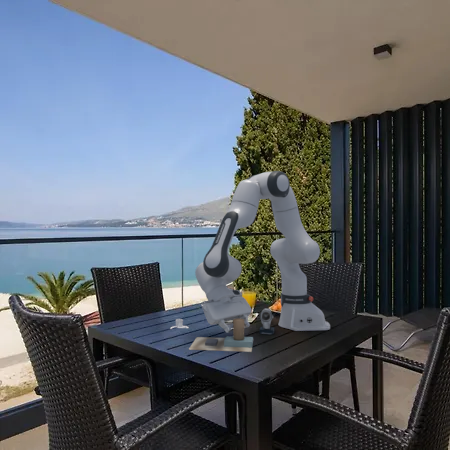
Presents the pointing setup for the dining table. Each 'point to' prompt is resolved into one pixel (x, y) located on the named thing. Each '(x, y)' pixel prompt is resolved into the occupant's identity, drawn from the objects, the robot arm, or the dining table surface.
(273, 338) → the dining table surface
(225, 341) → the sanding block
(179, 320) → the grey hub with arms
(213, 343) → the graphite chip
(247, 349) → the pine board
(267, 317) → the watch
